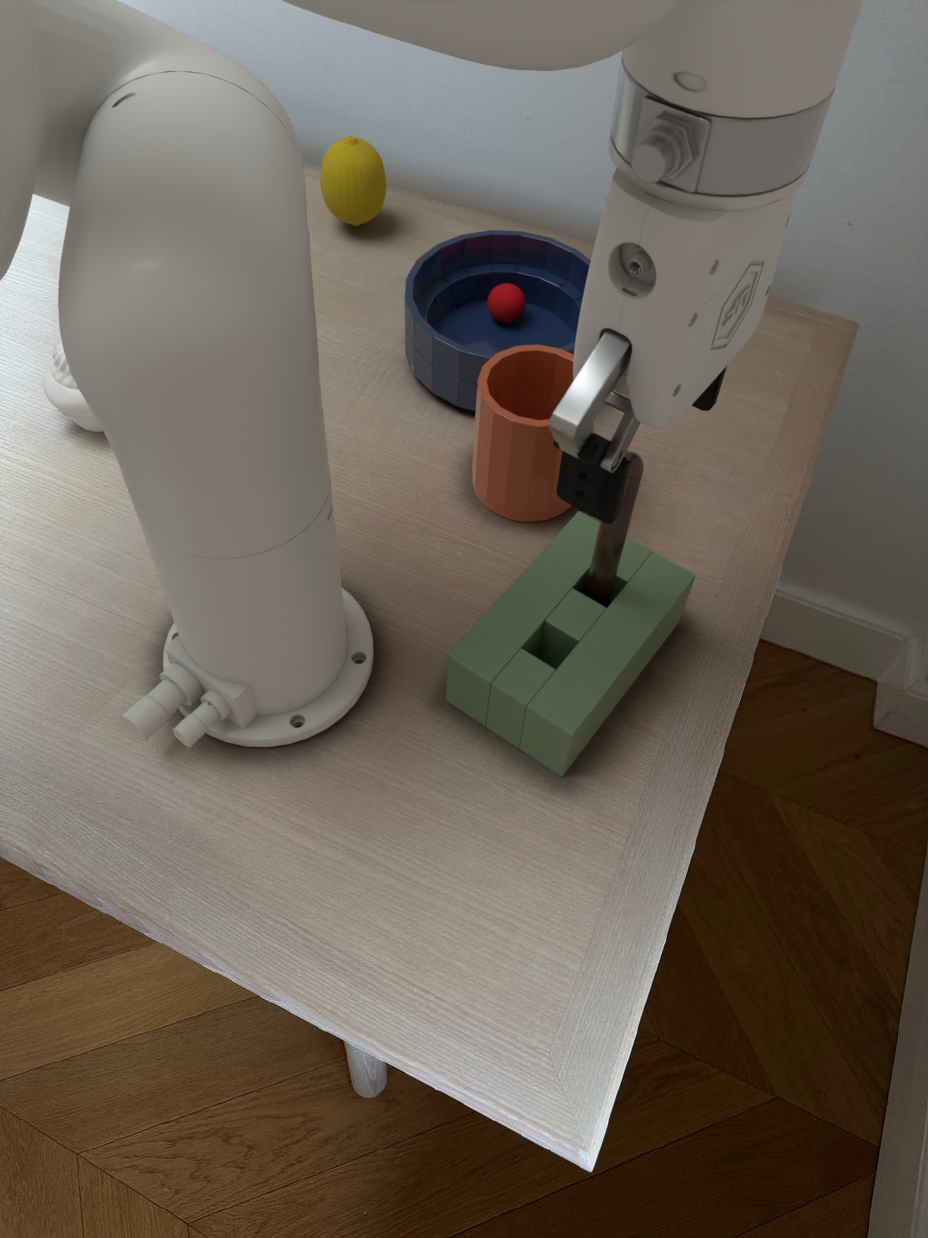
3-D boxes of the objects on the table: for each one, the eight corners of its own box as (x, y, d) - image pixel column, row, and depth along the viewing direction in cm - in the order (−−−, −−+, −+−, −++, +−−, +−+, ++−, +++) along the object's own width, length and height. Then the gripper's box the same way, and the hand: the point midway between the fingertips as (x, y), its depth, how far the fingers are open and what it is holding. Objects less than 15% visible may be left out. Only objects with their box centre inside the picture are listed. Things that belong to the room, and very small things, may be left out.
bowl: (528, 453, 73) (536, 390, 68) (366, 365, 78) (362, 300, 73) (635, 345, 80) (649, 281, 75) (481, 271, 85) (484, 206, 80)
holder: (678, 622, 65) (696, 575, 60) (561, 777, 58) (572, 735, 54) (569, 559, 67) (578, 510, 63) (445, 701, 61) (447, 655, 56)
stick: (592, 647, 63) (636, 471, 51) (571, 634, 64) (609, 457, 51) (605, 630, 64) (652, 453, 51) (584, 618, 65) (625, 440, 52)
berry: (509, 336, 79) (512, 304, 77) (478, 320, 80) (480, 288, 78) (531, 317, 81) (534, 285, 78) (500, 302, 82) (503, 270, 79)
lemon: (391, 209, 90) (389, 121, 83) (382, 246, 87) (379, 158, 80) (330, 204, 90) (323, 116, 83) (318, 240, 87) (310, 152, 80)
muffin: (48, 403, 74) (17, 325, 68) (129, 378, 76) (106, 301, 70) (71, 458, 71) (41, 381, 65) (155, 431, 73) (133, 354, 67)
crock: (540, 539, 68) (555, 443, 61) (450, 488, 71) (454, 390, 63) (599, 475, 72) (620, 377, 65) (512, 428, 74) (522, 329, 67)
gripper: (692, 269, 31) (612, 596, 45) (903, 58, 40) (780, 389, 54) (496, 183, 34) (477, 519, 48) (734, 1, 42) (658, 332, 56)
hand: (638, 450), depth 51 cm, fingers open, 9 cm apart
